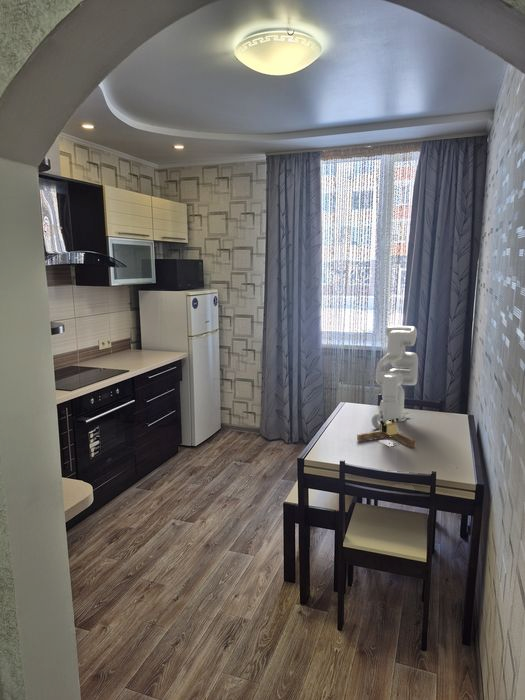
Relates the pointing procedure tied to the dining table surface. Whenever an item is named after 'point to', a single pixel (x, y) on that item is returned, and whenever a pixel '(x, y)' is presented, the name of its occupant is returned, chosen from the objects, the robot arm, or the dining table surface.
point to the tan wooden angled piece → (380, 434)
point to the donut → (376, 421)
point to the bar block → (390, 428)
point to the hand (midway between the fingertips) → (388, 430)
